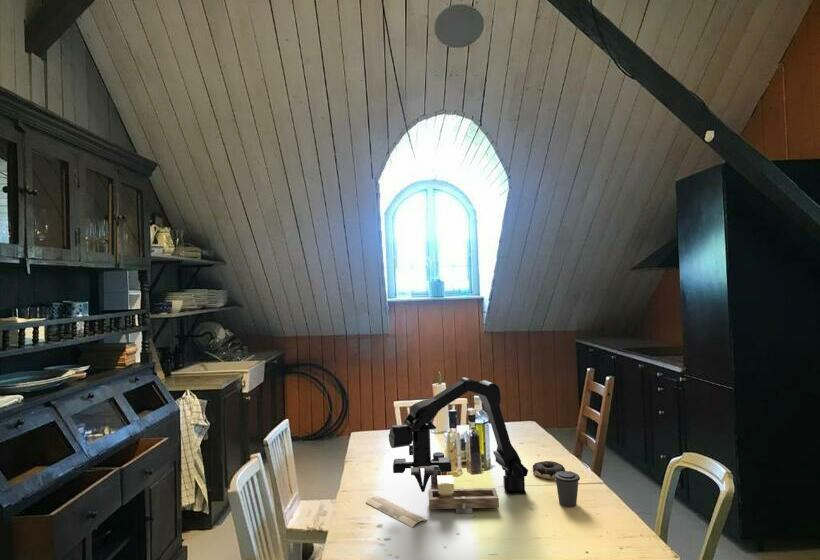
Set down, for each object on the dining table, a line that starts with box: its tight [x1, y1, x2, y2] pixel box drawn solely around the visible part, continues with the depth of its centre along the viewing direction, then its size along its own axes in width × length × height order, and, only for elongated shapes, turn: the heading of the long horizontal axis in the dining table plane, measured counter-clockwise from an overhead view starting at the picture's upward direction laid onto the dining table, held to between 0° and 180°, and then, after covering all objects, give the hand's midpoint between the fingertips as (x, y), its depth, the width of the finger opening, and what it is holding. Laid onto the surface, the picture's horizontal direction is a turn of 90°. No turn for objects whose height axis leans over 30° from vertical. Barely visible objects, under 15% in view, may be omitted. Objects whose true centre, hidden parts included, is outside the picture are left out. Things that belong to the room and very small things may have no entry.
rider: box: [437, 475, 455, 497], centre depth 164 cm, size 5×7×6 cm
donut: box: [532, 460, 566, 480], centre depth 189 cm, size 11×12×4 cm
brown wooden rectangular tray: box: [428, 487, 500, 515], centre depth 164 cm, size 22×9×5 cm, turn 89°
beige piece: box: [365, 495, 428, 529], centre depth 162 cm, size 24×7×2 cm, turn 42°
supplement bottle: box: [430, 451, 448, 489], centre depth 182 cm, size 6×6×11 cm
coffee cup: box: [554, 470, 581, 509], centre depth 164 cm, size 8×8×10 cm
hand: (423, 491), depth 164 cm, fingers closed
